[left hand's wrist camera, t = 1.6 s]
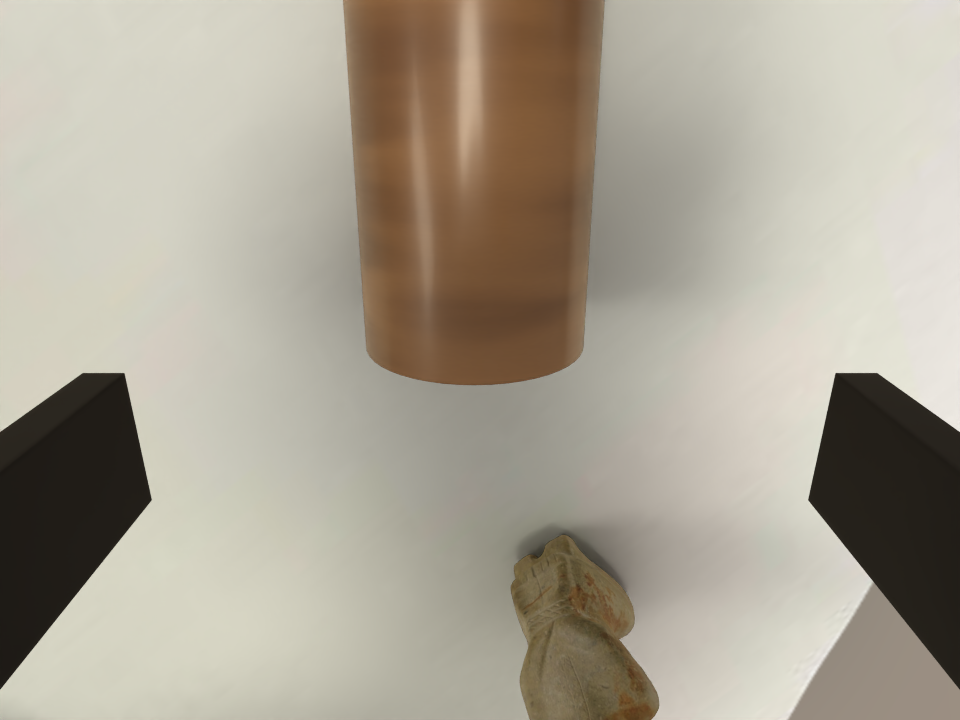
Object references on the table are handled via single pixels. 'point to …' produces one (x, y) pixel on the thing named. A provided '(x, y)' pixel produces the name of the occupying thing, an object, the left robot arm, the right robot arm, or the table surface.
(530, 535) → the table surface
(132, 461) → the left robot arm
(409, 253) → the rod
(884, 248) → the table surface
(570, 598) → the sculpture
